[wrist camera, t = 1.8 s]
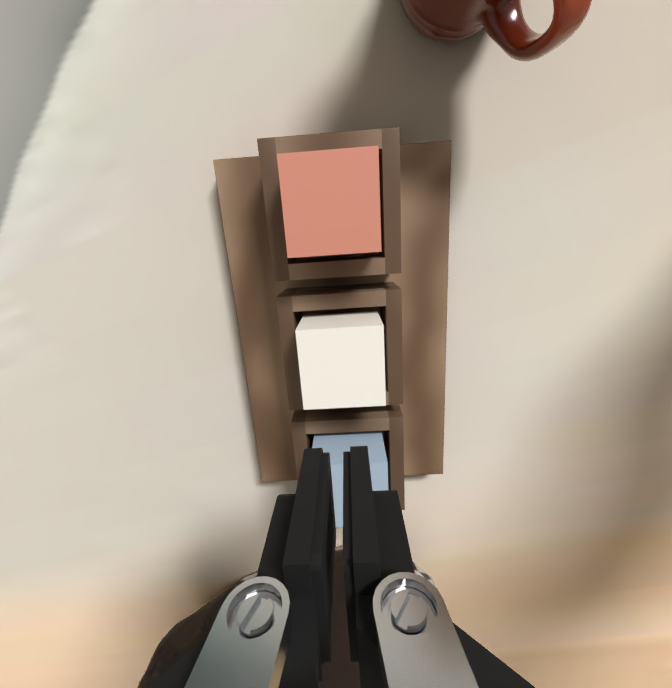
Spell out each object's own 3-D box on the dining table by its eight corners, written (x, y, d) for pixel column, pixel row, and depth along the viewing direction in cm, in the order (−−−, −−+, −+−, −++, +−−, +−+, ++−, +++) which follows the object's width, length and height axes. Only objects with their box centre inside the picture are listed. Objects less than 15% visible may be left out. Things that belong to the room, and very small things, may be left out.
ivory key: (377, 311, 23) (383, 325, 19) (379, 379, 25) (385, 405, 21) (303, 315, 23) (295, 330, 20) (309, 383, 25) (303, 409, 21)
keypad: (443, 147, 25) (472, 120, 19) (436, 459, 32) (457, 507, 27) (222, 165, 25) (187, 144, 20) (267, 467, 33) (251, 515, 27)
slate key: (381, 429, 26) (387, 462, 22) (383, 485, 27) (389, 525, 23) (314, 432, 26) (309, 465, 22) (320, 487, 27) (316, 528, 24)
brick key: (372, 162, 21) (378, 145, 17) (374, 249, 22) (381, 251, 18) (289, 169, 21) (276, 153, 17) (297, 254, 22) (287, 258, 18)
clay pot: (513, 727, 25) (216, 918, 25) (436, 571, 40) (252, 686, 40) (412, 568, 23) (92, 768, 23) (372, 468, 39) (179, 587, 38)
